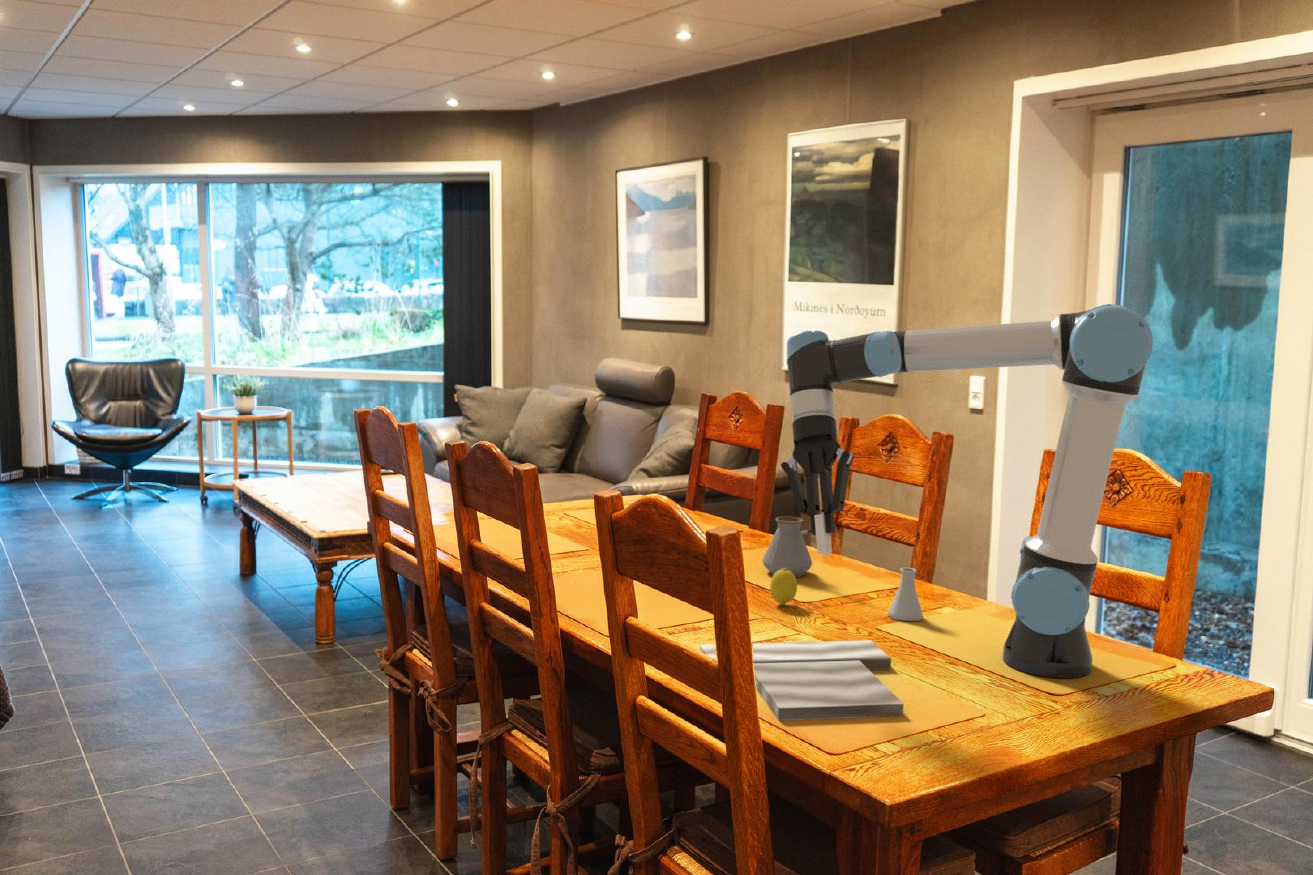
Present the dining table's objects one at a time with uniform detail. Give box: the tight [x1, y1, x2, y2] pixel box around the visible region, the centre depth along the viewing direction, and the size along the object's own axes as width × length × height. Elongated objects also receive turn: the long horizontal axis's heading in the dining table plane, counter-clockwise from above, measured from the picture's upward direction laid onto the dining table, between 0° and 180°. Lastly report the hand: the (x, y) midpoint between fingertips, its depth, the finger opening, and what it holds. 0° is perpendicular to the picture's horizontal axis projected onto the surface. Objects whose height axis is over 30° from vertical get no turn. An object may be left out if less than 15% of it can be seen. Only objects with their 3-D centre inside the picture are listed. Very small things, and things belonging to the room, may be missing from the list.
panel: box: [754, 660, 904, 721], centre depth 180 cm, size 20×20×2 cm
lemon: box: [769, 568, 798, 606], centre depth 230 cm, size 6×6×8 cm
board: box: [699, 639, 892, 671], centre depth 195 cm, size 10×32×2 cm, turn 99°
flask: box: [886, 567, 924, 622], centre depth 224 cm, size 7×7×10 cm
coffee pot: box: [762, 516, 837, 578], centre depth 252 cm, size 21×12×15 cm, turn 30°
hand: (824, 553), depth 186 cm, fingers closed
